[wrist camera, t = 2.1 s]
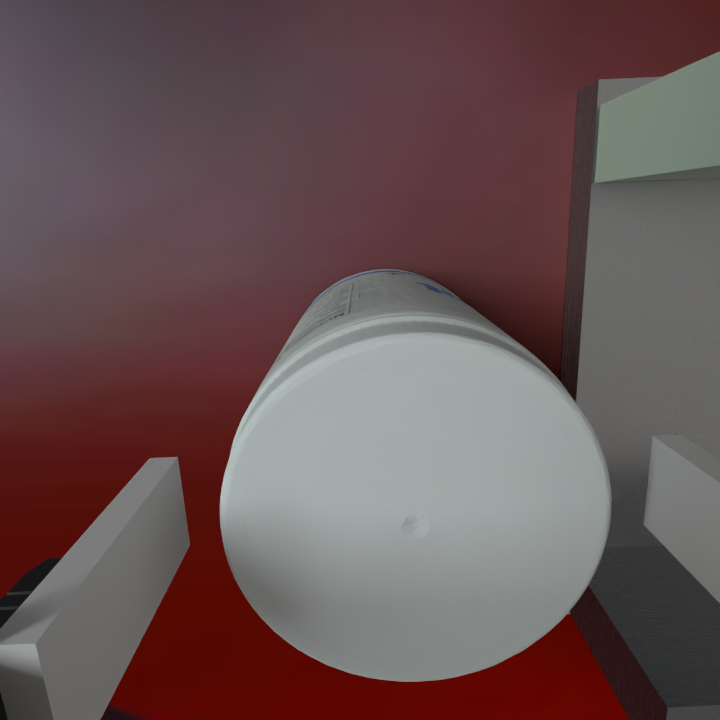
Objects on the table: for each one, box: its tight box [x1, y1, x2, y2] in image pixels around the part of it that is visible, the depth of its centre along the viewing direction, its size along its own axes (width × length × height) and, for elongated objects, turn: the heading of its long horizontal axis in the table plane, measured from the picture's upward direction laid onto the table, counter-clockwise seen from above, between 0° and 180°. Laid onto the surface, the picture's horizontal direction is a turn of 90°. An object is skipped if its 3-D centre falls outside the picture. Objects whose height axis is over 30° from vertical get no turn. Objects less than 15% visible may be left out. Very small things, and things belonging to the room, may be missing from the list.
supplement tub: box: [220, 269, 612, 682], centre depth 19 cm, size 10×10×15 cm
